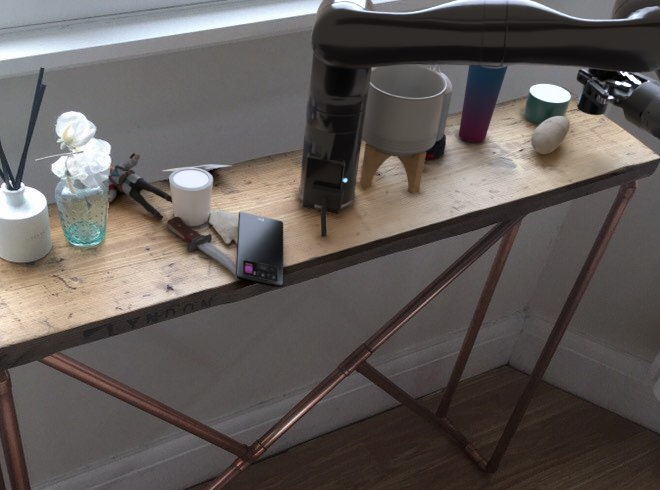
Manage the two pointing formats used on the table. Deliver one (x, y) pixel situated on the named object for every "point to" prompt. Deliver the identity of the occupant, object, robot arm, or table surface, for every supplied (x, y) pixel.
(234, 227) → the arrowhead
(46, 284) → the table surface
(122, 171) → the action figure
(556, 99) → the squat tin
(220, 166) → the diorama
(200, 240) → the knife
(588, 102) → the tall tin
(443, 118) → the white tall piece
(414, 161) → the planter
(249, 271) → the smartphone
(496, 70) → the cup
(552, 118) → the stone
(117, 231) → the table surface
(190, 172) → the white cylinder
